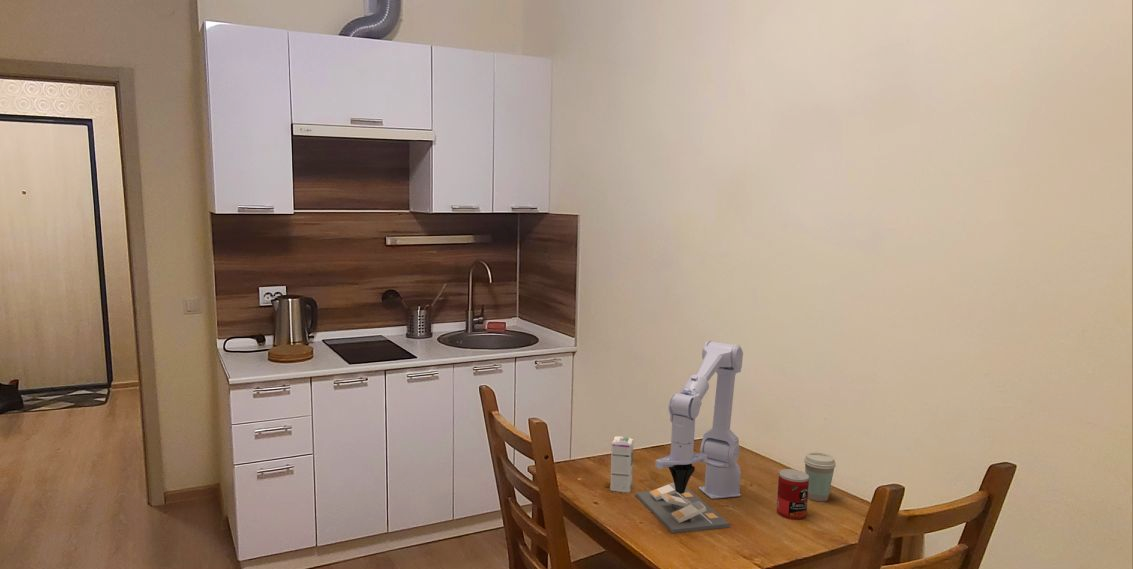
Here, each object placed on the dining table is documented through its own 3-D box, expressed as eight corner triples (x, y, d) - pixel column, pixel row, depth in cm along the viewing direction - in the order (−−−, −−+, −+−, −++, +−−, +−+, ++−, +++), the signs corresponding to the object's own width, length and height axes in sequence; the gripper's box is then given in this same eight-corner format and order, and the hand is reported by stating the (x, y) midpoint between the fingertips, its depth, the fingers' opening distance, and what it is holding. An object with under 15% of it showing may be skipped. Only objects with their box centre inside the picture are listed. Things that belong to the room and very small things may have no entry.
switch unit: (687, 491, 208) (687, 484, 207) (729, 527, 185) (729, 519, 185) (635, 495, 203) (635, 488, 203) (672, 533, 180) (672, 525, 180)
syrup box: (629, 493, 205) (632, 443, 203) (609, 490, 206) (611, 441, 204) (632, 485, 210) (634, 437, 209) (612, 483, 211) (614, 435, 210)
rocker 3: (699, 504, 190) (698, 500, 189) (706, 510, 186) (705, 506, 186) (672, 516, 188) (671, 512, 187) (679, 523, 184) (678, 519, 184)
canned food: (791, 521, 190) (794, 481, 188) (769, 510, 197) (772, 471, 195) (812, 517, 193) (815, 477, 192) (790, 505, 200) (793, 467, 199)
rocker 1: (676, 484, 203) (675, 481, 203) (682, 490, 199) (681, 486, 199) (650, 495, 201) (649, 491, 201) (656, 500, 197) (655, 496, 197)
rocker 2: (686, 503, 197) (687, 498, 197) (693, 509, 193) (694, 504, 193) (661, 496, 194) (662, 492, 194) (667, 502, 190) (668, 498, 190)
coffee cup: (837, 497, 207) (841, 457, 206) (825, 506, 201) (828, 464, 199) (809, 489, 213) (812, 449, 211) (796, 497, 206) (799, 456, 205)
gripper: (696, 432, 190) (694, 482, 192) (649, 439, 184) (647, 490, 186) (713, 441, 184) (710, 492, 186) (665, 447, 178) (662, 500, 179)
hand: (679, 492), depth 185 cm, fingers closed
